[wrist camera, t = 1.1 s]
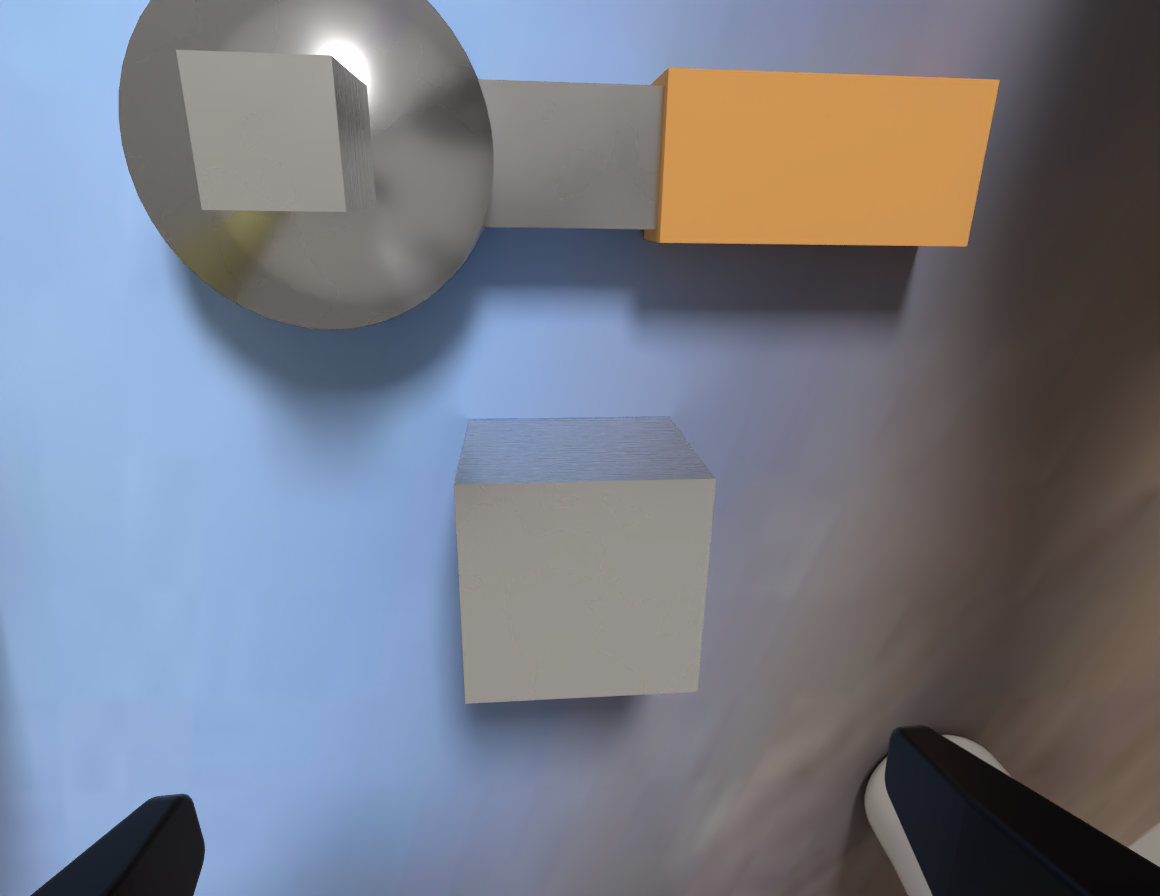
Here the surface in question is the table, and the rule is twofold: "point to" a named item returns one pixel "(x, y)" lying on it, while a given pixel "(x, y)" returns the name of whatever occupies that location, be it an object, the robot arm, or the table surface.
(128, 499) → the table surface
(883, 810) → the drinking glass
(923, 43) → the table surface
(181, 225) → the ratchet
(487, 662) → the brushed metal cube
